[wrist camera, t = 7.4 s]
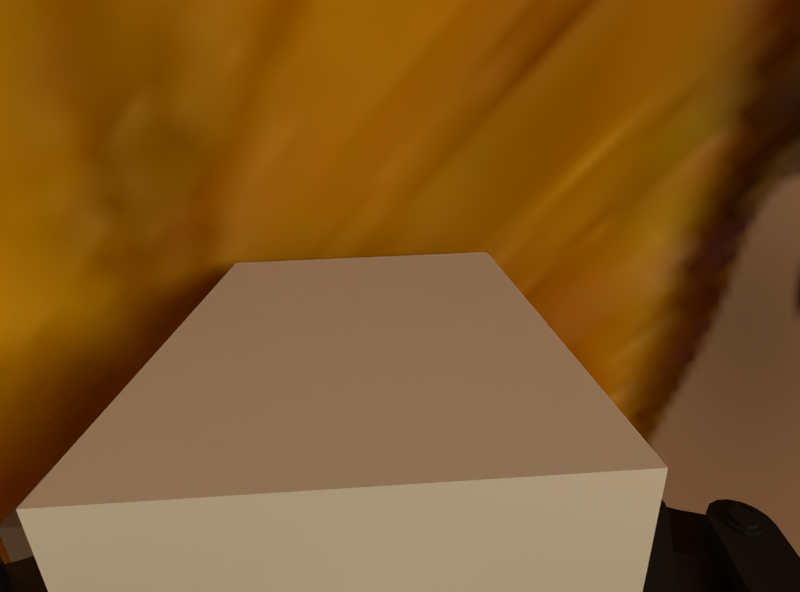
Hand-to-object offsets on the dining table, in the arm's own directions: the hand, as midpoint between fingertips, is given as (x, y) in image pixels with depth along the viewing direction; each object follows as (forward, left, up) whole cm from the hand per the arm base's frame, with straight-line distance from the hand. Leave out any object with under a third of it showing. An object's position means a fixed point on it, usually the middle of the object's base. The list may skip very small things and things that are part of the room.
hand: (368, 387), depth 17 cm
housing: (0, 0, -1) cm, 1 cm away
